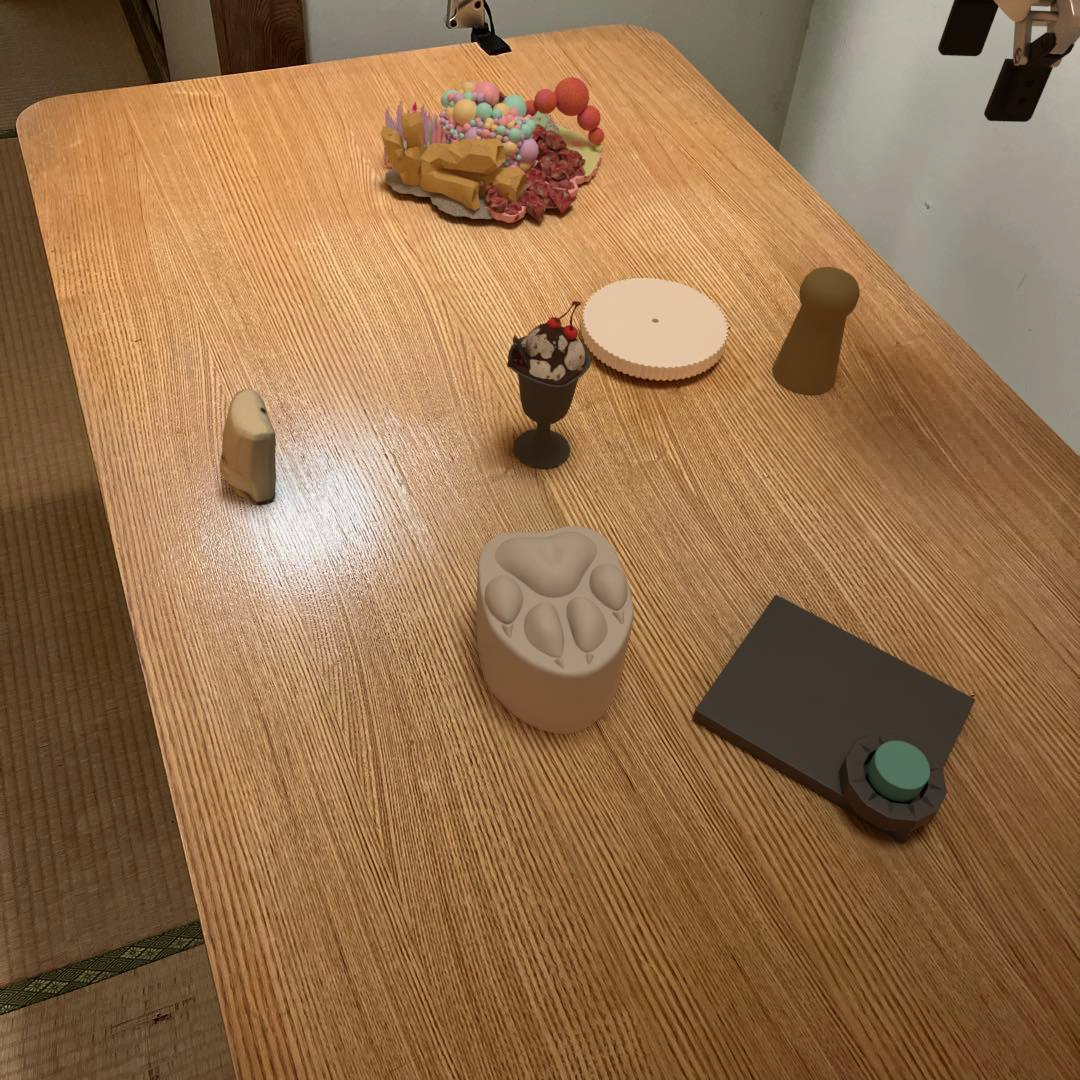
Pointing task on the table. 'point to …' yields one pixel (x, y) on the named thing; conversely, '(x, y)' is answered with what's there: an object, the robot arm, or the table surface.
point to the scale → (833, 713)
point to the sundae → (547, 387)
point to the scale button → (898, 771)
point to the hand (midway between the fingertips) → (981, 85)
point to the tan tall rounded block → (249, 449)
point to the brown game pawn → (817, 332)
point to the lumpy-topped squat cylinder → (553, 625)
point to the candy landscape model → (495, 151)
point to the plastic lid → (654, 329)
